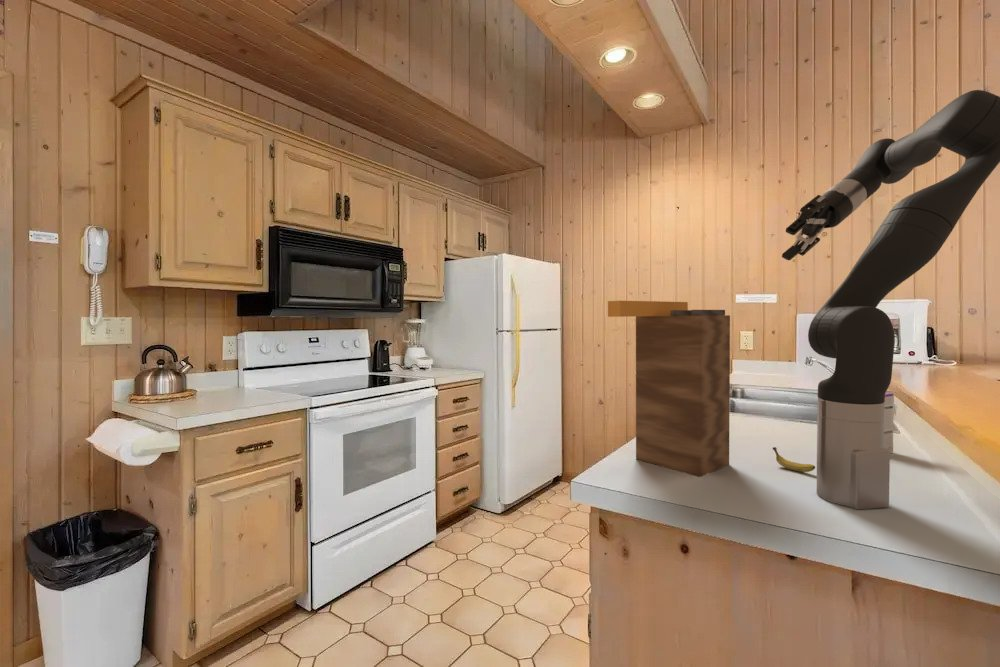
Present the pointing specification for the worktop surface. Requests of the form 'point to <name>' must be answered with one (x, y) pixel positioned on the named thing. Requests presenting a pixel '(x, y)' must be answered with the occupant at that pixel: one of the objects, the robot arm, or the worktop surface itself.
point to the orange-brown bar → (643, 308)
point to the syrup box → (888, 420)
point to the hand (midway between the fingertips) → (787, 245)
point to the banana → (793, 464)
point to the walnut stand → (683, 390)
